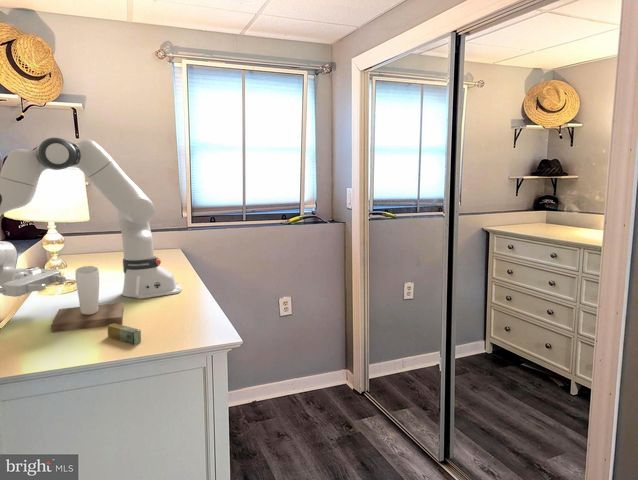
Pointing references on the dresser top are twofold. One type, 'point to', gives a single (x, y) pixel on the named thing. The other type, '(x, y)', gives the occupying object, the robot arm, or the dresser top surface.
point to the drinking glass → (88, 289)
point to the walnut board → (87, 318)
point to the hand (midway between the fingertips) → (54, 283)
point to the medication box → (124, 334)
